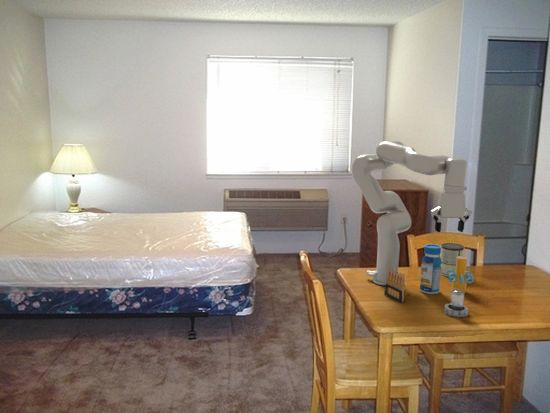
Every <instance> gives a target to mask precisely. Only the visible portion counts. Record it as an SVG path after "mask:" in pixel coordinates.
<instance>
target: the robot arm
mask: <svg viewBox="0 0 550 413" xmlns="http://www.w3.org/2000/svg"><path fill="white" fill-rule="evenodd" d="M394 164H396V165H399V166H401V167H406V169H408V170H410V171H412V172H414V173H417V174H422V175H425V176H436V175H437V176H438V175H444V181H443V191H441V192H440V194H439V198H438V202H437V207H435V208H433V209H431V210H430V211H429V212H430V215H431V218H433V220H434V221H435V223H434V229H435V230H434V231H436V232H437V233H441V230H442V222H441V221H442V220H444V219H458V222H457V231H458V232H461V233H463V232H464V230H465V224H466V222H467V220H469V219H470V216H472V214H473V213H472V210H470V209H468V208H467V207H466V195H465V194H466V193H464V192H465V191H467V186H465V184H466V183H465V181H466V174H467V173H466V172H467V164H468V163H467V160H466V159H465V158H461V157H460V158H459V157H451V156H446V155H431V156H429V155H425V154H422V153H417V152H416V150H415V149H414V147H412V146H408V145H405V144H404V143H403V142H401V141H399V140H388V141H385V140H384V141H382V142H380V143H378V145H377V147H376V150H375V153H369V154H362V155H359V156H357V157H356V158H354V160H353V163H352V166H351V174H352V178H353V179H354V180H353V181H355V184H356V185H357V186H358V188H359V189H360V191H361V193H362V196H363V197H364V199H365V201H366V203H367V204H368V207H369V208H370V210H371V211H372V212H373V213H374V214H382V215H380V217H378V218H377V221H376V231H377V254H376V255H377V256H376V269H375V270H372V271H371V270H366V275H368V277H372V279H371V281H372V282H373V283H374V284H376V285H378V286H383V287H384V286H386V283H387V274H388V269H389V268H390V272H391V270H392V269H393V273H394V270H395V271H396V274H397V271H398V272H399V262H400V260H399V259H400V239H399V236H398V234H400V233H403V232H406V231H408V230H409V229H410V228H411V226H412V218H411V215H410V213H409V211H408V210H407V208H406V206H405V204H404V203H403V200H402V199H401V197H400V195H399V194H397V193H396V192H394V191H393V190H383V189H382V187H381V185H380V182H378V180H377V179H376V178H375V177H374V176H373V175H372V174H371V173H374V174H375V173H381V172H384V171H385V170H387V169H389V168H391V167H392V166H393V165H394ZM384 213H385V214H384Z"/></svg>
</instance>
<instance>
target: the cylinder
mask: <svg viewBox="0 0 550 413" xmlns="http://www.w3.org/2000/svg"><path fill="white" fill-rule="evenodd" d="M467 259H468V257H466V256H463V257H462V256H458V257H457V261H456V272H455V271H454V270H448V271H447V276H448V277H447V276H446V277H447V278H448V281H449V283H451V290H453V289H459V290H463V291H464V294H465V293H467V286H468V284H470V285H471V284H473V283H475V278H474V275H473V274H472V272H471V271H470V270H466V269H467ZM450 271H452V272H453V273H451V274H450V275H449V272H450ZM452 275H454V277H451V276H452ZM468 276H469V277H468ZM467 277H468V278H467ZM470 280H471V281H470Z"/></svg>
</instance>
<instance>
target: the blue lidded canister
mask: <svg viewBox="0 0 550 413" xmlns="http://www.w3.org/2000/svg"><path fill="white" fill-rule="evenodd" d="M423 248H424V251H423V253H424V256H423V257H422V259H421V265H420V272H421V273H420V285H419V291H420V292H422V293H424V294H430V295H433V294H435V295H436V294H439V293H440V285H441V270H442V267H441V264H442V261H441V245H439V244H433V243H432V244H429V243H428V244H425V245H424V247H423Z"/></svg>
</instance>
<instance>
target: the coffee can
mask: <svg viewBox="0 0 550 413" xmlns="http://www.w3.org/2000/svg"><path fill="white" fill-rule="evenodd" d="M440 247H441V254H440V258H441V261H442V264H441V267H442V270H441V274H440V276H444V277H447V278H448V276H447V271H448V270H454V271H455V272H456V261H457V257H458V256H462V257H464V252H465V246H464V245H462V244H460V243H455V242H444V243H442V244H441V245H440ZM451 273H453V272H452V271H450V272H449V275H450V274H451ZM451 277H454V275H452V276H451Z"/></svg>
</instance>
